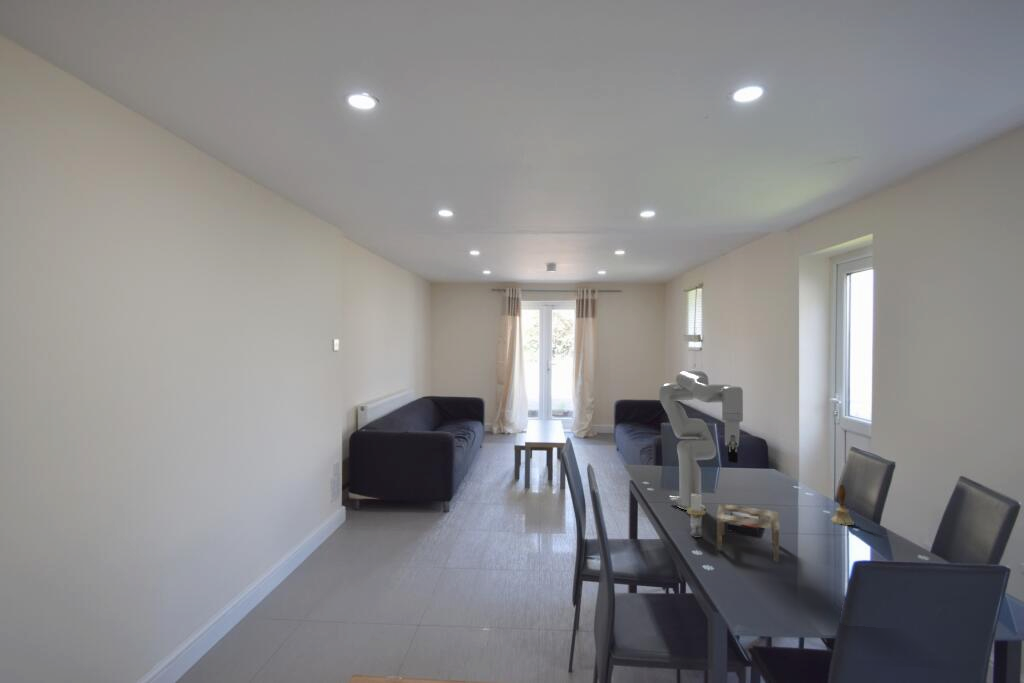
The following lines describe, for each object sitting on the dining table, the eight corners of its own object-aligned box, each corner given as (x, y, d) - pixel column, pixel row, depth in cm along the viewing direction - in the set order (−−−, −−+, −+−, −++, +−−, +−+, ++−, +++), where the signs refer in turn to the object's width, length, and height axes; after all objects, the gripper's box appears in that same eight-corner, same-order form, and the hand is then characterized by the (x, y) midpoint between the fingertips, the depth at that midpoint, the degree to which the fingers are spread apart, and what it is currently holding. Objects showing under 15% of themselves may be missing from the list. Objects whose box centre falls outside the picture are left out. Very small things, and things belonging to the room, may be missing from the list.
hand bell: (829, 522, 198) (829, 484, 198) (832, 517, 204) (832, 481, 204) (853, 527, 192) (852, 488, 192) (855, 522, 198) (855, 484, 198)
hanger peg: (685, 537, 180) (685, 496, 181) (687, 531, 187) (687, 491, 187) (704, 540, 177) (704, 498, 178) (706, 534, 183) (706, 494, 184)
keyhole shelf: (716, 550, 168) (716, 517, 169) (719, 533, 184) (719, 503, 185) (779, 562, 159) (779, 527, 159) (777, 543, 175) (777, 511, 175)
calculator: (727, 522, 188) (731, 509, 201) (727, 532, 188) (731, 519, 201) (757, 528, 182) (760, 514, 195) (757, 538, 182) (760, 524, 195)
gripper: (722, 413, 196) (722, 454, 196) (722, 419, 180) (722, 463, 180) (741, 414, 193) (742, 456, 193) (743, 420, 177) (744, 465, 177)
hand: (732, 459), depth 186 cm, fingers open, 9 cm apart
